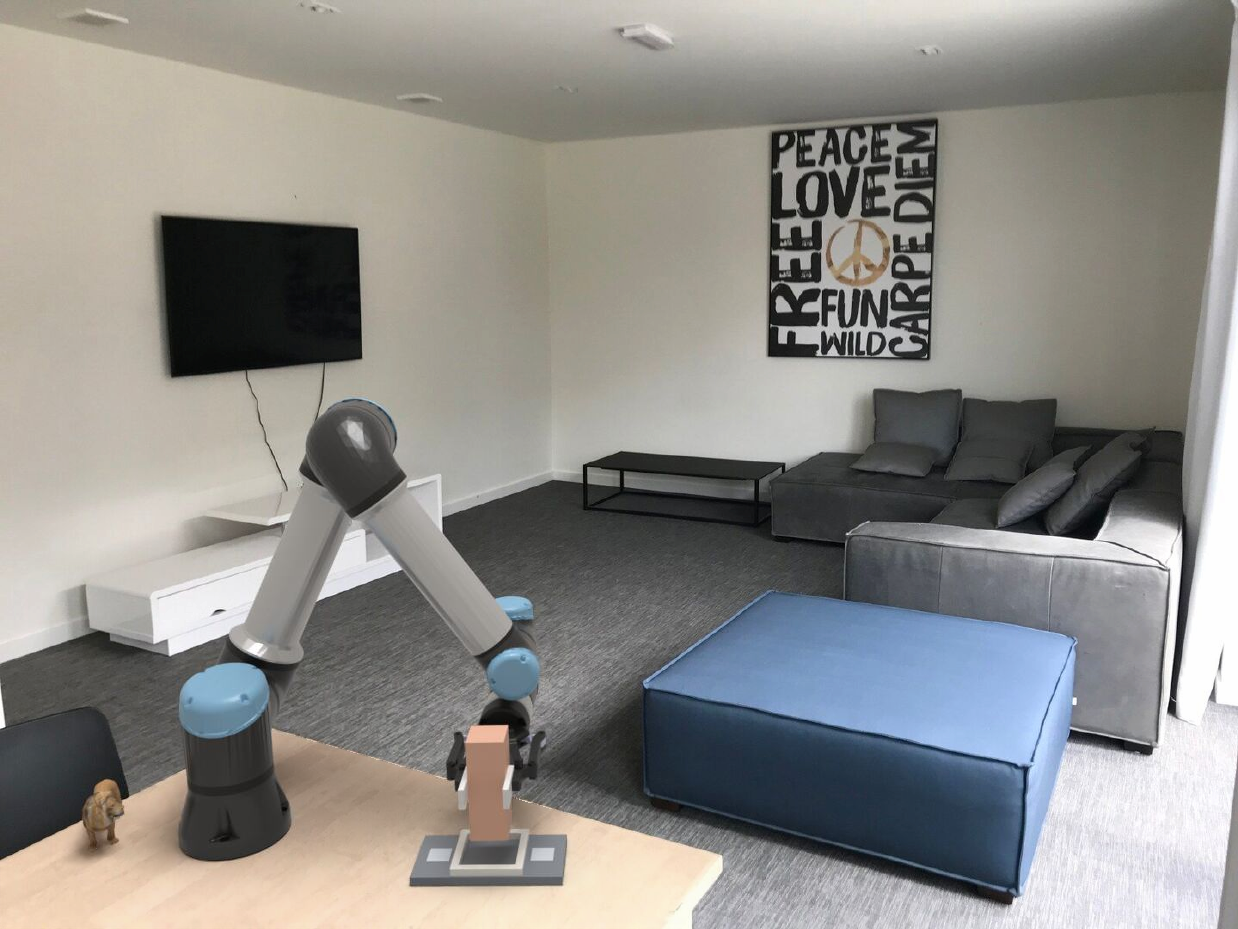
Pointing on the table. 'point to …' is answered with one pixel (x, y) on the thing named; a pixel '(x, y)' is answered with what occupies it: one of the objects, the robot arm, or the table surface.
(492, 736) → the terracotta pillar
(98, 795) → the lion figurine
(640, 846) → the table surface
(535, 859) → the base board
